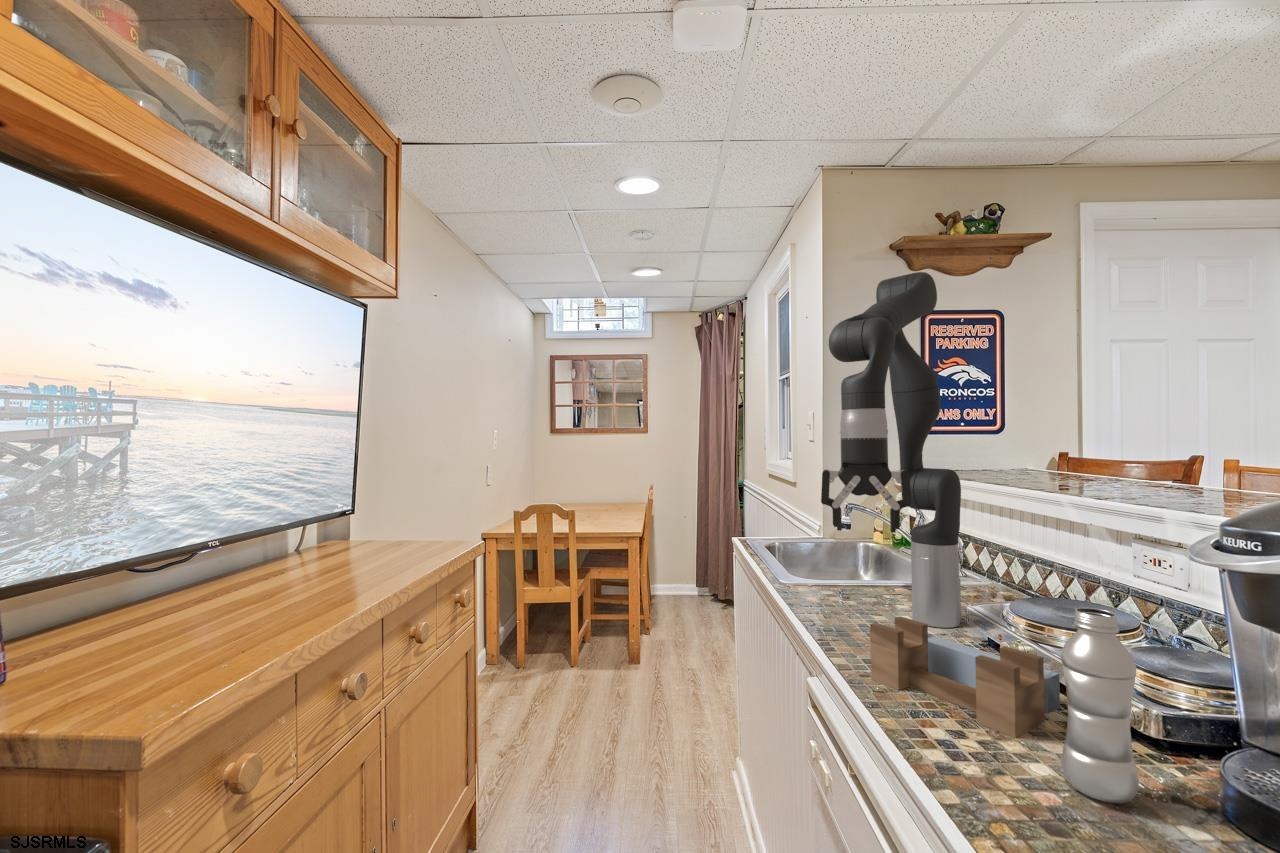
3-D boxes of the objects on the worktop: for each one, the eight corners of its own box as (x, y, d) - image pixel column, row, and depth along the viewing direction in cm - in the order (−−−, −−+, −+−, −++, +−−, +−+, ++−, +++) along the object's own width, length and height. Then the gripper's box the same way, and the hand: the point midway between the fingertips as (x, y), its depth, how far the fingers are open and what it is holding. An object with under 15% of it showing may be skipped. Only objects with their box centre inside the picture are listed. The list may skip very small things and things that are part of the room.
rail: (930, 663, 101) (929, 634, 101) (1060, 707, 84) (1059, 673, 84) (916, 667, 99) (916, 638, 99) (1047, 714, 82) (1046, 679, 82)
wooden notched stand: (900, 669, 98) (900, 616, 98) (1044, 722, 79) (1043, 657, 80) (870, 679, 94) (870, 624, 94) (1015, 738, 75) (1013, 668, 75)
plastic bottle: (1067, 769, 68) (1063, 600, 68) (1143, 794, 63) (1138, 612, 64) (1056, 793, 63) (1052, 611, 64) (1137, 822, 59) (1131, 625, 59)
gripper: (907, 435, 99) (909, 529, 99) (821, 436, 104) (822, 526, 103) (911, 435, 92) (913, 536, 91) (819, 436, 97) (820, 532, 96)
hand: (865, 530), depth 97 cm, fingers open, 8 cm apart
